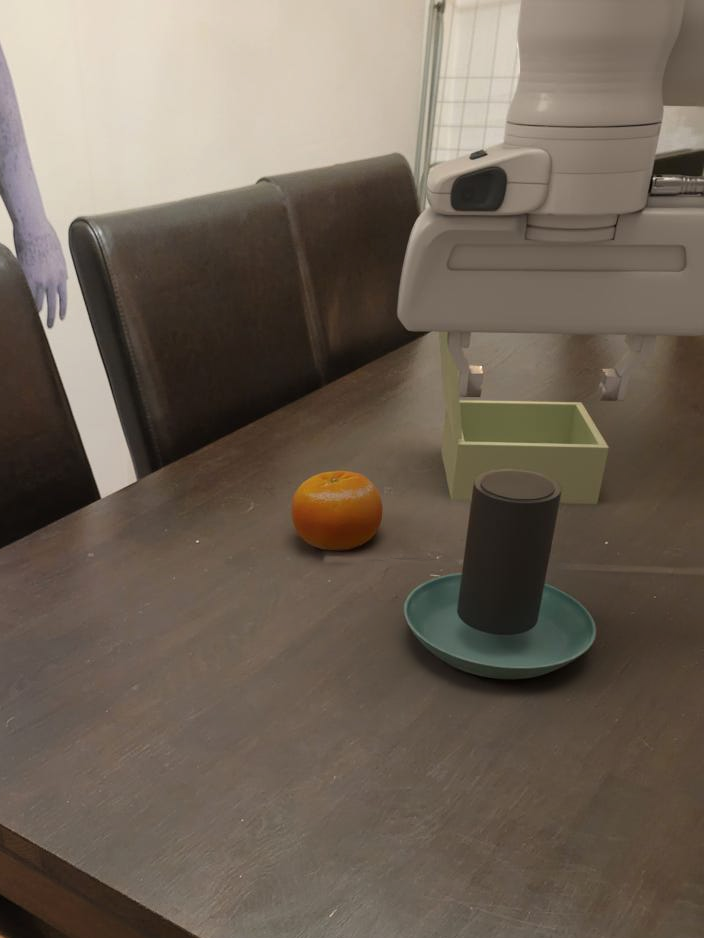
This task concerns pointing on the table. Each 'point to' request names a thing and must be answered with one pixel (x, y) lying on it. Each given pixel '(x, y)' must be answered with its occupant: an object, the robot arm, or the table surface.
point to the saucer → (499, 656)
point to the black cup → (507, 550)
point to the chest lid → (450, 386)
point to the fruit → (337, 510)
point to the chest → (526, 446)
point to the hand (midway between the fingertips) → (538, 396)
